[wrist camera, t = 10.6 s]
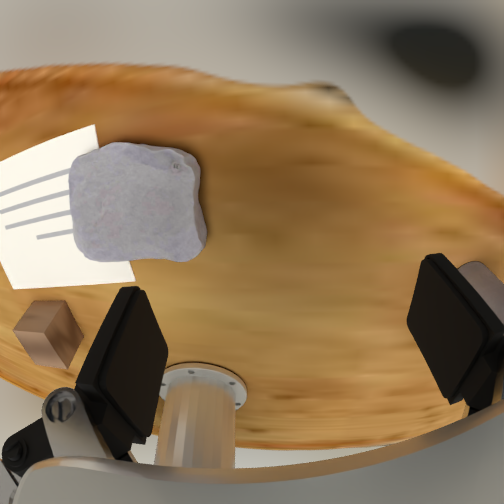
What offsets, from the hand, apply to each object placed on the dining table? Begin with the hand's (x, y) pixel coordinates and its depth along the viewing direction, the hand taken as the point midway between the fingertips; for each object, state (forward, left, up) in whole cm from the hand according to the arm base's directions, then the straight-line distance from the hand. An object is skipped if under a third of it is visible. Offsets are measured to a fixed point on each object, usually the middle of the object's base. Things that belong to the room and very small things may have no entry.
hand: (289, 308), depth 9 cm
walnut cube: (-14, +28, -17) cm, 35 cm away
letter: (-1, +24, -17) cm, 29 cm away
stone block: (0, +11, -17) cm, 20 cm away
